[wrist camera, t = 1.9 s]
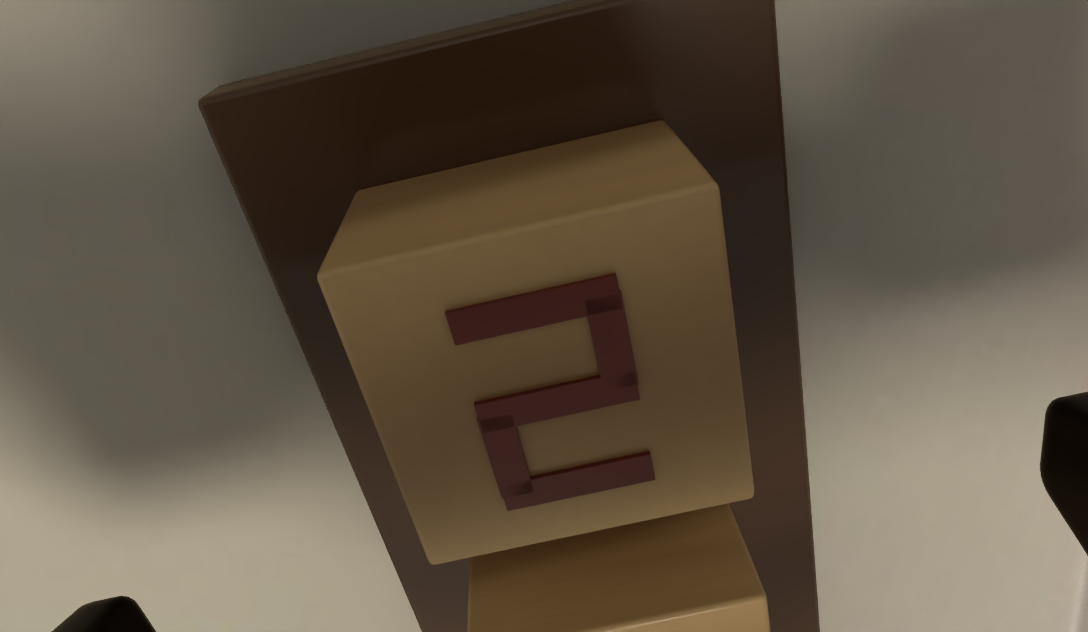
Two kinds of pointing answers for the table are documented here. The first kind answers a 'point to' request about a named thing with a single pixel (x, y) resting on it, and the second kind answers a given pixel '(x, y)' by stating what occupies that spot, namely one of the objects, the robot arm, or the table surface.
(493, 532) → the number block
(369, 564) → the table surface
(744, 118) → the strip
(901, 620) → the table surface
